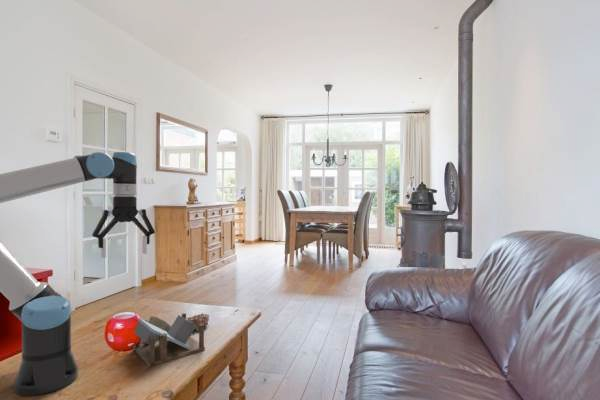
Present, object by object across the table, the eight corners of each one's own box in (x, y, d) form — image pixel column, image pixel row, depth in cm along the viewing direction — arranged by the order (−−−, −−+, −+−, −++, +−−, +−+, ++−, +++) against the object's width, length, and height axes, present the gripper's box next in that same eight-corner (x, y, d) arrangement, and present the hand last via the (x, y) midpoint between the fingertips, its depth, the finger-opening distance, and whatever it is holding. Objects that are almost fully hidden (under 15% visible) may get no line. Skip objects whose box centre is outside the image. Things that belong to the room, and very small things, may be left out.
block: (173, 337, 124) (184, 319, 126) (167, 333, 128) (178, 314, 130) (185, 343, 127) (196, 325, 129) (179, 339, 131) (190, 321, 133)
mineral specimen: (201, 331, 139) (192, 315, 140) (185, 340, 140) (176, 325, 141) (213, 320, 151) (205, 306, 151) (198, 328, 152) (190, 314, 153)
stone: (173, 331, 146) (179, 315, 141) (168, 345, 140) (174, 329, 135) (147, 324, 144) (153, 308, 139) (141, 338, 138) (146, 321, 133)
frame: (150, 368, 113) (150, 339, 113) (132, 348, 127) (132, 323, 127) (206, 350, 126) (206, 325, 125) (184, 335, 139) (184, 311, 139)
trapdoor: (144, 342, 114) (152, 329, 116) (131, 330, 124) (139, 318, 126) (183, 359, 123) (190, 347, 124) (168, 347, 133) (175, 336, 134)
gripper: (87, 196, 117) (87, 260, 118) (163, 196, 133) (163, 253, 134) (82, 195, 123) (82, 257, 123) (156, 196, 139) (156, 250, 140)
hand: (124, 255), depth 129 cm, fingers open, 13 cm apart
